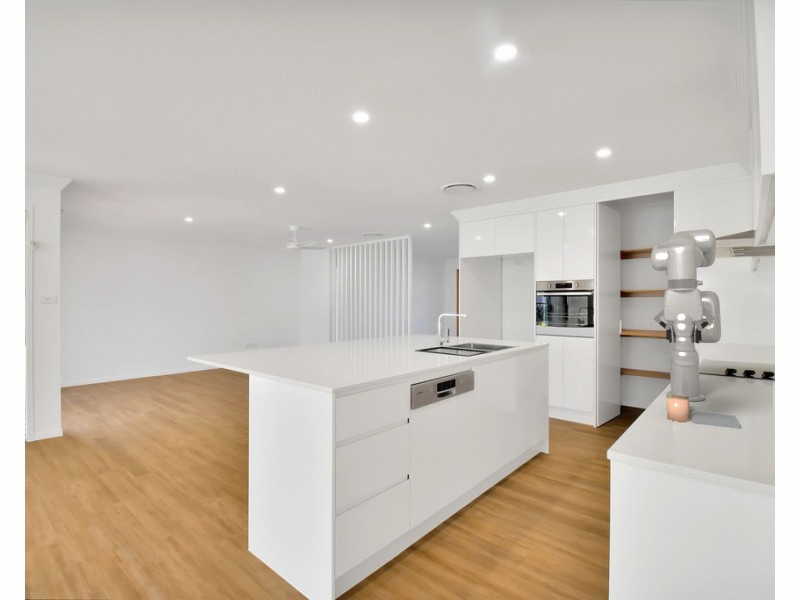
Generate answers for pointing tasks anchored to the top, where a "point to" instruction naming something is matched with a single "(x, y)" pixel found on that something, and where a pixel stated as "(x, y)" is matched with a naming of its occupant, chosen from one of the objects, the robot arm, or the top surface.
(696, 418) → the slate mat
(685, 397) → the copper block
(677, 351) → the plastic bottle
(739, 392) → the top surface
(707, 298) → the robot arm
